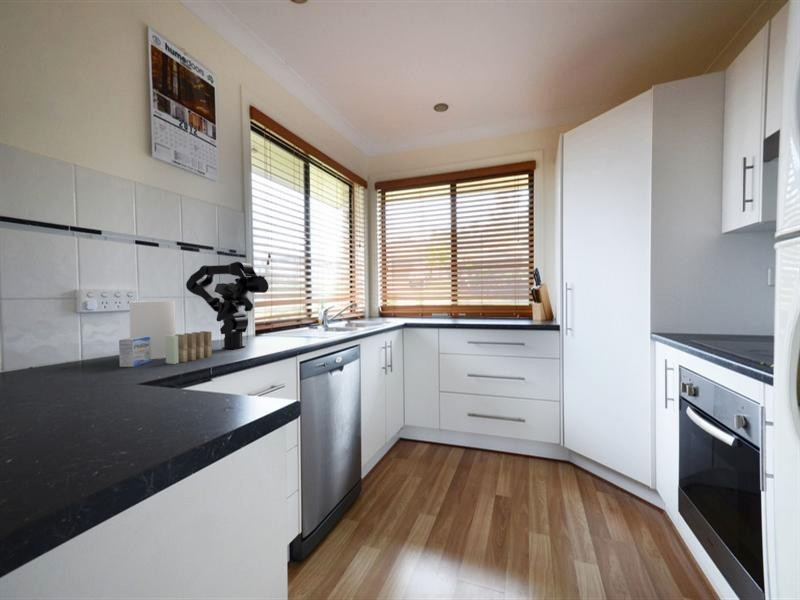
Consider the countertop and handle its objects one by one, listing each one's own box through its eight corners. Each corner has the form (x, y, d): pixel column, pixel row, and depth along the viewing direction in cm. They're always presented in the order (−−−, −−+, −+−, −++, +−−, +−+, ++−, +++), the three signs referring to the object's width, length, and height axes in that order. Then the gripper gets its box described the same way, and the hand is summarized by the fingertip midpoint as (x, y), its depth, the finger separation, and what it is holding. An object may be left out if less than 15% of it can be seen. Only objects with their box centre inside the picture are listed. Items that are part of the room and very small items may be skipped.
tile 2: (195, 357, 127) (195, 332, 127) (204, 357, 126) (203, 332, 126) (192, 357, 126) (191, 332, 126) (200, 358, 125) (200, 333, 124)
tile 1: (203, 355, 130) (203, 331, 130) (211, 356, 129) (211, 331, 129) (200, 356, 129) (199, 331, 129) (208, 357, 128) (208, 332, 127)
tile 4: (179, 360, 121) (178, 334, 121) (187, 361, 120) (187, 334, 120) (175, 361, 120) (174, 334, 120) (183, 362, 119) (183, 335, 118)
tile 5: (170, 362, 118) (169, 335, 118) (178, 363, 117) (178, 335, 117) (165, 363, 117) (165, 335, 117) (174, 364, 116) (174, 336, 115)
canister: (176, 357, 128) (175, 301, 127) (129, 361, 120) (128, 302, 119) (175, 351, 139) (174, 300, 138) (131, 355, 131) (130, 301, 131)
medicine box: (133, 367, 111) (132, 339, 111) (119, 367, 111) (118, 339, 111) (151, 362, 119) (150, 336, 119) (138, 362, 119) (137, 336, 119)
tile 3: (187, 358, 124) (187, 333, 124) (196, 359, 123) (195, 333, 123) (183, 359, 123) (183, 333, 123) (192, 360, 122) (191, 334, 121)
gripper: (209, 277, 141) (185, 306, 131) (246, 275, 134) (223, 305, 124) (226, 297, 148) (204, 326, 138) (262, 295, 141) (241, 326, 131)
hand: (217, 320), depth 133 cm, fingers closed
